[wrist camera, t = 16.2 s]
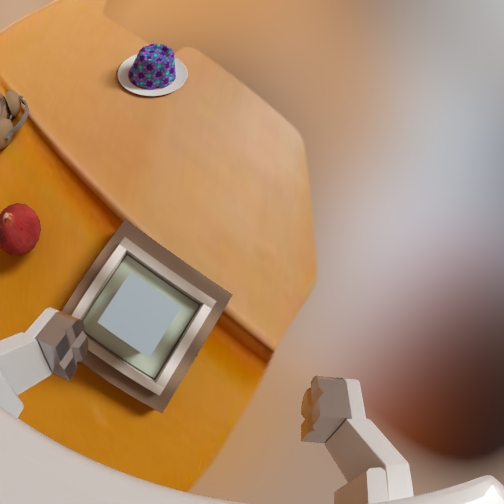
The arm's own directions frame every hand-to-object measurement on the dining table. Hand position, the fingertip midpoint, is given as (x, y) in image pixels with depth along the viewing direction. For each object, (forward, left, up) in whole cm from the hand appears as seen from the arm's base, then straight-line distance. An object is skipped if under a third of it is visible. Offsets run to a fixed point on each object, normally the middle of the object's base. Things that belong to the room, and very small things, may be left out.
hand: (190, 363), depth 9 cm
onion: (0, +20, -26) cm, 32 cm away
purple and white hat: (+32, +25, -26) cm, 48 cm away
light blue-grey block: (+1, +2, -22) cm, 22 cm away
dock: (+1, +2, -26) cm, 26 cm away
